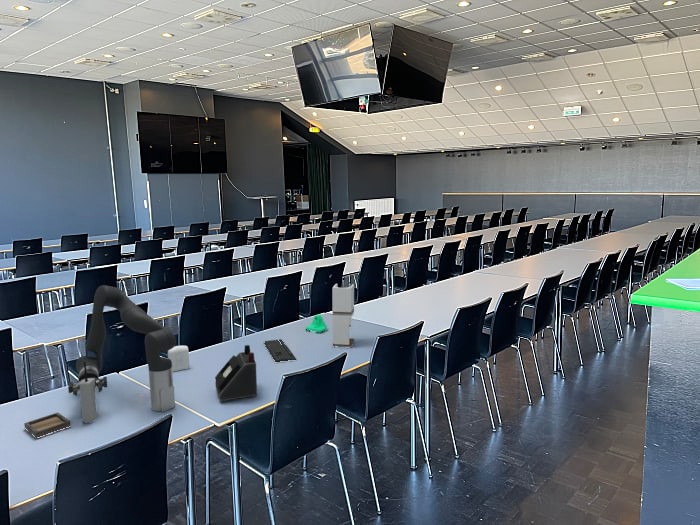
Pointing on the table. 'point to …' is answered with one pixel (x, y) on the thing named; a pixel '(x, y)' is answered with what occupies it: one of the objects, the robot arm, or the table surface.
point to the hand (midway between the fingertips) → (87, 391)
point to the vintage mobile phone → (88, 398)
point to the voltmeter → (237, 377)
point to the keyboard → (279, 350)
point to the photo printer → (179, 358)
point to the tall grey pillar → (342, 315)
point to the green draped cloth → (317, 324)
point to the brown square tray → (47, 424)
